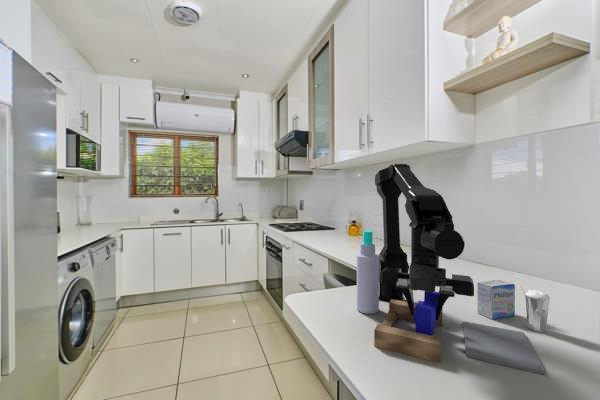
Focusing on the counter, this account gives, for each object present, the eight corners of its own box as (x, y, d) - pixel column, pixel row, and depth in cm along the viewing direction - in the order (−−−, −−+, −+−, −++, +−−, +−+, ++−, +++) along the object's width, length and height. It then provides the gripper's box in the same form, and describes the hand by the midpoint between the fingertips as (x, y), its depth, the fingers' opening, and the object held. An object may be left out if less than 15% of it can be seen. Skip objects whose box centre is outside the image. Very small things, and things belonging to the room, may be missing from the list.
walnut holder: (374, 346, 59) (374, 329, 59) (391, 311, 76) (391, 299, 76) (440, 362, 53) (440, 344, 53) (442, 321, 70) (442, 307, 70)
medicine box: (492, 320, 71) (492, 286, 71) (476, 313, 75) (476, 281, 75) (515, 316, 73) (515, 283, 73) (499, 309, 77) (499, 279, 77)
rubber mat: (466, 356, 55) (466, 353, 55) (462, 323, 69) (462, 321, 69) (545, 374, 49) (545, 371, 49) (523, 334, 63) (523, 332, 63)
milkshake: (520, 321, 70) (520, 282, 70) (548, 328, 66) (549, 286, 66) (519, 328, 66) (520, 287, 66) (550, 335, 63) (550, 292, 63)
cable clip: (419, 312, 70) (419, 288, 69) (438, 316, 67) (439, 292, 67) (407, 332, 60) (407, 304, 59) (430, 338, 57) (430, 309, 57)
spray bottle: (381, 308, 78) (381, 230, 78) (375, 316, 73) (375, 233, 73) (360, 304, 81) (360, 229, 81) (353, 311, 76) (353, 231, 76)
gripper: (374, 251, 60) (374, 323, 60) (476, 261, 51) (476, 344, 51) (385, 243, 70) (385, 305, 70) (472, 250, 61) (471, 320, 61)
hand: (424, 317), depth 63 cm, fingers closed on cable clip, 5 cm apart
